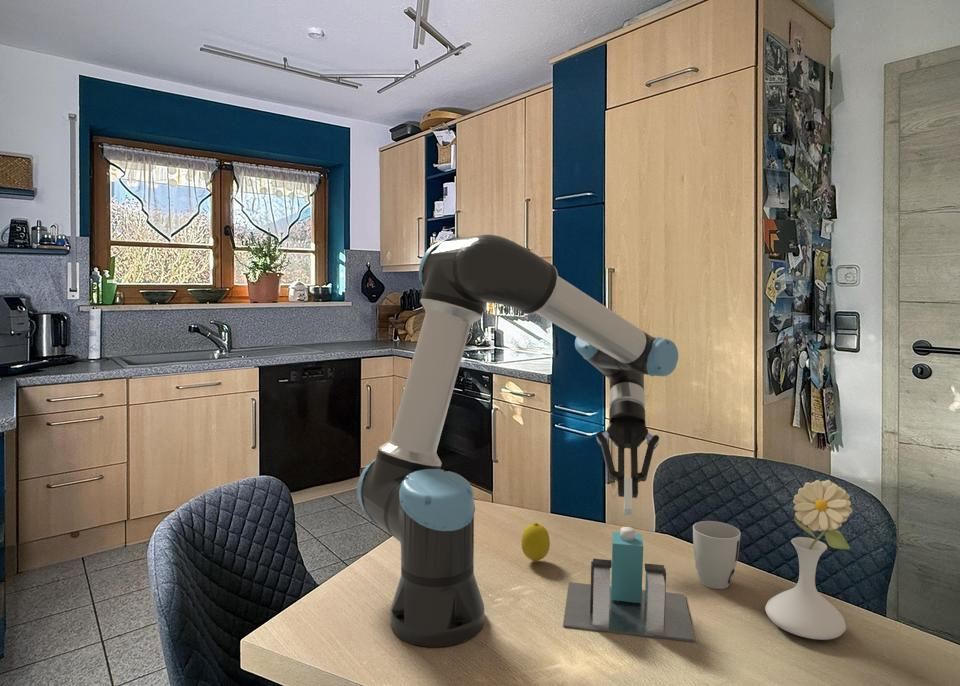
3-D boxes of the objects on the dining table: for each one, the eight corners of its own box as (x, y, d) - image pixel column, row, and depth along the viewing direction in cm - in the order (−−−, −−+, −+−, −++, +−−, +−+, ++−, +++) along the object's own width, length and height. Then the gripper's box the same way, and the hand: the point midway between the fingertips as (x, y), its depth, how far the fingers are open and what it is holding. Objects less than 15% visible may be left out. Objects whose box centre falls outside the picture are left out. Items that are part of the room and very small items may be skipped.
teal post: (611, 599, 103) (612, 534, 102) (611, 585, 108) (612, 522, 107) (641, 603, 102) (643, 536, 101) (640, 588, 107) (642, 525, 106)
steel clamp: (563, 626, 97) (564, 573, 96) (568, 584, 110) (569, 536, 110) (695, 642, 93) (697, 586, 92) (684, 596, 106) (686, 547, 105)
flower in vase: (749, 612, 101) (756, 466, 99) (806, 603, 104) (815, 461, 101) (809, 659, 89) (819, 493, 86) (872, 648, 91) (884, 486, 89)
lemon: (541, 571, 115) (542, 530, 115) (516, 564, 118) (516, 524, 118) (554, 559, 120) (554, 520, 119) (529, 553, 123) (529, 515, 122)
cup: (742, 595, 107) (745, 540, 106) (694, 590, 108) (696, 536, 107) (733, 573, 115) (735, 522, 114) (687, 569, 116) (689, 519, 115)
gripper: (656, 419, 133) (661, 522, 119) (596, 416, 136) (593, 517, 121) (659, 400, 127) (665, 506, 113) (596, 397, 130) (593, 501, 115)
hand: (628, 511), depth 117 cm, fingers closed
